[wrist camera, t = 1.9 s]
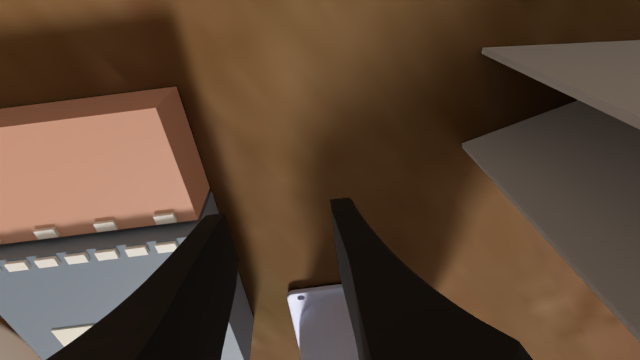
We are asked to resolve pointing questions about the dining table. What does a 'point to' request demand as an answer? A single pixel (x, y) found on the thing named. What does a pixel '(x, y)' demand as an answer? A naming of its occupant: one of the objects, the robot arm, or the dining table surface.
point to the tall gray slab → (578, 163)
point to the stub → (98, 166)
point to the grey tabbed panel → (96, 283)
